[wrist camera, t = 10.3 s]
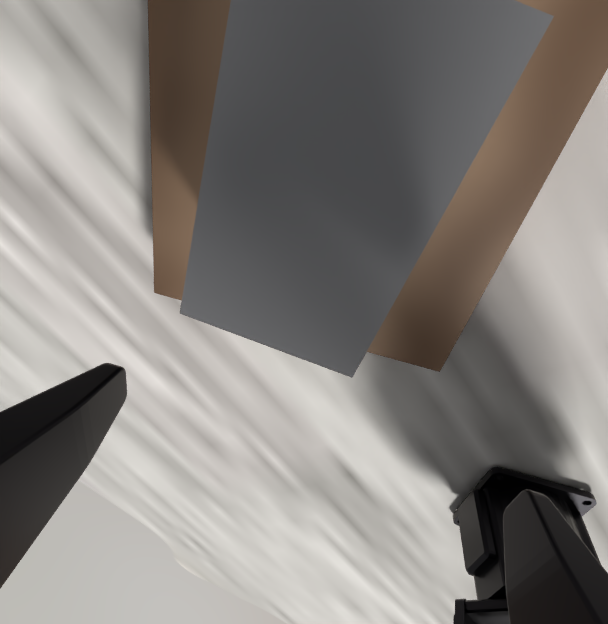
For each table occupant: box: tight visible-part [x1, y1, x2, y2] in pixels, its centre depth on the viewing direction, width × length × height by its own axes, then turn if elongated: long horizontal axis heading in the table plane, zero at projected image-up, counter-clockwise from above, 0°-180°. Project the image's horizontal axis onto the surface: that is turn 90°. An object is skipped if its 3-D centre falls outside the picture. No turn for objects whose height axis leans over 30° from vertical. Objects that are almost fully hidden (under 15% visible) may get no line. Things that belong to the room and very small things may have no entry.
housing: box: [180, 0, 554, 377], centre depth 12 cm, size 10×6×5 cm, turn 162°
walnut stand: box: [148, 0, 608, 372], centre depth 15 cm, size 14×16×2 cm
